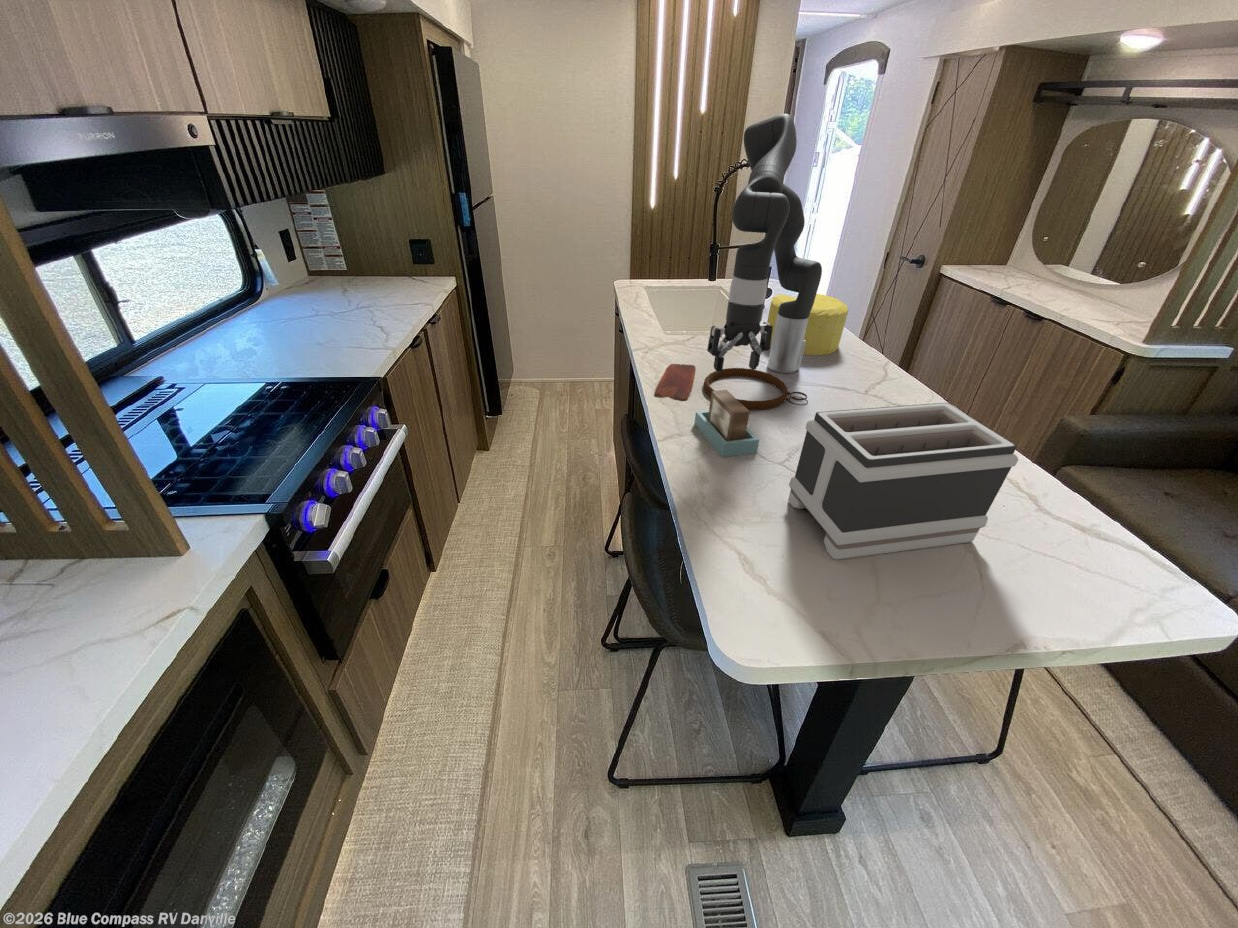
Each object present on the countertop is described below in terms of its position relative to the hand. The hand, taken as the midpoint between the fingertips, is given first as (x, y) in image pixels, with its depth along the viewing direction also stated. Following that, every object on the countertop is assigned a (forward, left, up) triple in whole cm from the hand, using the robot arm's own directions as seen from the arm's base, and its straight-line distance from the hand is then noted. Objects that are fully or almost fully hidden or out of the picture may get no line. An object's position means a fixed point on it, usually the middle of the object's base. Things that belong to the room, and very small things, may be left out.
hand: (735, 370), depth 117 cm
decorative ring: (-20, -21, -18) cm, 35 cm away
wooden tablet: (-1, -35, -19) cm, 40 cm away
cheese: (-58, -57, -18) cm, 83 cm away
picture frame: (0, 0, -17) cm, 17 cm away
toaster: (-17, +37, -18) cm, 45 cm away
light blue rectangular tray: (0, 0, -18) cm, 18 cm away
